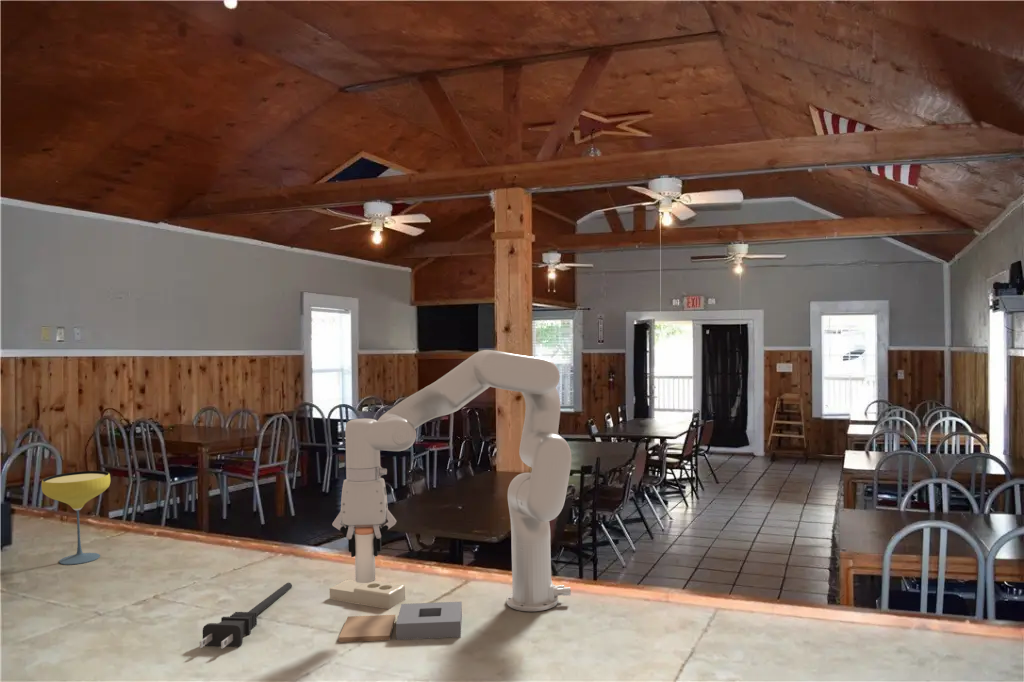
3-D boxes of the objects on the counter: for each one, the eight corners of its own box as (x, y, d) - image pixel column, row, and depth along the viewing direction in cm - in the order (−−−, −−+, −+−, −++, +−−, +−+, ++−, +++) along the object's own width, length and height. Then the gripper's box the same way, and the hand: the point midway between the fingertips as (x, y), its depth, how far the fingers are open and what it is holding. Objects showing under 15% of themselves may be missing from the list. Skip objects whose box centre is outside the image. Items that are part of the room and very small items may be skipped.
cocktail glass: (73, 549, 247) (69, 470, 246) (126, 550, 245) (123, 470, 244) (30, 568, 229) (26, 482, 228) (87, 569, 227) (83, 483, 226)
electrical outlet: (347, 575, 205) (405, 584, 197) (347, 591, 205) (405, 600, 197) (329, 584, 198) (388, 594, 190) (329, 600, 198) (389, 610, 190)
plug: (376, 576, 180) (375, 524, 179) (373, 582, 175) (373, 529, 175) (357, 576, 179) (356, 524, 179) (354, 583, 175) (353, 529, 175)
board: (395, 618, 184) (395, 614, 184) (389, 640, 172) (389, 635, 172) (348, 620, 184) (347, 616, 184) (338, 642, 172) (338, 637, 172)
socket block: (461, 616, 185) (461, 601, 185) (460, 637, 173) (460, 621, 173) (401, 618, 184) (401, 603, 184) (396, 639, 172) (396, 623, 172)
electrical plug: (191, 656, 167) (191, 632, 167) (272, 595, 208) (272, 576, 208) (230, 657, 166) (230, 633, 166) (304, 595, 207) (304, 576, 207)
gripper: (402, 470, 181) (404, 549, 181) (328, 471, 180) (330, 551, 181) (399, 476, 173) (401, 559, 174) (322, 478, 173) (324, 561, 173)
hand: (365, 554), depth 177 cm, fingers closed on plug, 4 cm apart
